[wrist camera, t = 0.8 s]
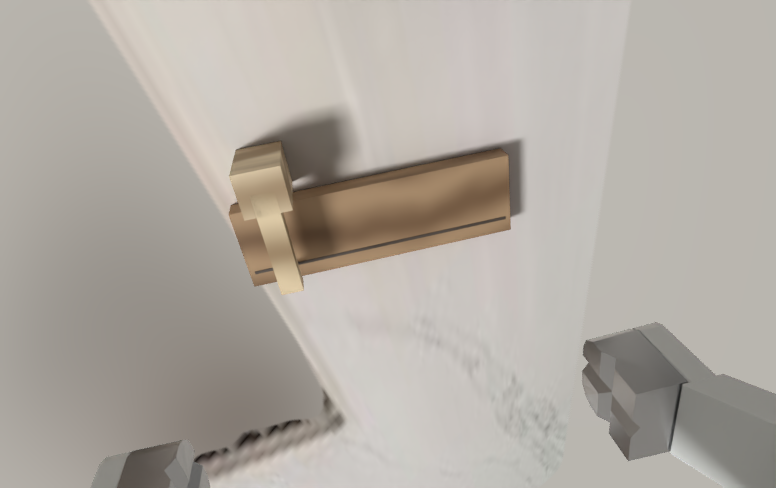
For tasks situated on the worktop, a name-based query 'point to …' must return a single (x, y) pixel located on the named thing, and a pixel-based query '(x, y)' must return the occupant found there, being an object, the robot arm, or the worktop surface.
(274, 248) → the beige mallet
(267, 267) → the board
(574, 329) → the worktop surface
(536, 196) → the worktop surface
